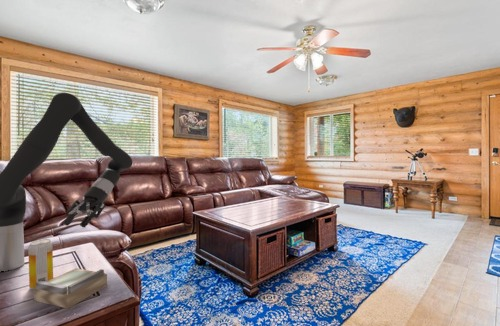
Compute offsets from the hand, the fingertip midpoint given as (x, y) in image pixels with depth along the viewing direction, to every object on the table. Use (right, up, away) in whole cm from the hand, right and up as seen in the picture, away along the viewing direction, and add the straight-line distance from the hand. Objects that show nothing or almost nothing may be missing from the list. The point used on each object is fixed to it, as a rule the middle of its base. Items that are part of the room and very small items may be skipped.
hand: (73, 225), depth 92 cm
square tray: (+10, -18, -14) cm, 25 cm away
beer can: (-3, -18, -10) cm, 21 cm away
